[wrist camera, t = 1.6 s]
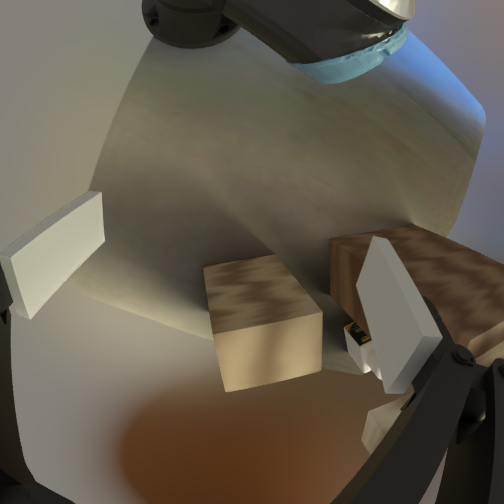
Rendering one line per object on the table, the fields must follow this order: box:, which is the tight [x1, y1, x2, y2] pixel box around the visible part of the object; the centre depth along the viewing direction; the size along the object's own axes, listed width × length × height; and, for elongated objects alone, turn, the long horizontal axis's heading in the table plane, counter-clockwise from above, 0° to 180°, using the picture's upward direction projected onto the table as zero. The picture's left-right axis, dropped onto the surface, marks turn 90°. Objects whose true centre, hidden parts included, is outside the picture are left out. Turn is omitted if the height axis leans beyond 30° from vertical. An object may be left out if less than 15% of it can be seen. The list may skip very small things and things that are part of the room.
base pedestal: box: [203, 254, 323, 392], centre depth 39 cm, size 11×8×18 cm
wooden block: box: [361, 341, 504, 455], centre depth 20 cm, size 26×4×4 cm, turn 96°
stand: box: [329, 225, 504, 385], centre depth 37 cm, size 18×10×30 cm, turn 96°
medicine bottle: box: [344, 322, 382, 380], centre depth 50 cm, size 7×7×12 cm
